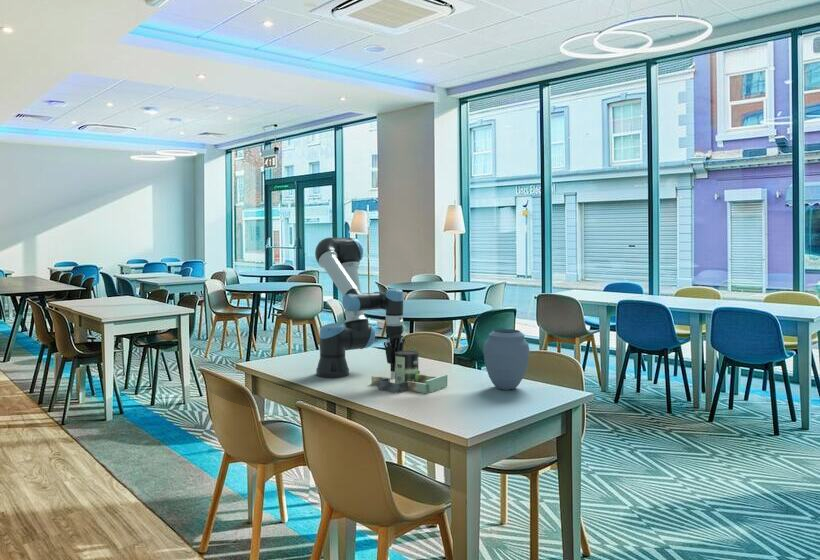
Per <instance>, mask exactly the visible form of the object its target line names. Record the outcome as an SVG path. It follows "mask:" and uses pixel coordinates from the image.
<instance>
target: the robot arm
mask: <svg viewBox="0 0 820 560" xmlns="http://www.w3.org/2000/svg"><path fill="white" fill-rule="evenodd" d="M363 255H364V248H363V245H362V243H361V241H360V240H359V239H357V238H355V237H326V238H323V239H321V240H320V241H319V242H318V244H317V246H316V247H315V252H314V257H315V260H316V262H317V263H318V265H319V267H320V268H321V269H324V271H326V273H327V275H328V276H329V278H330V279H331V281H332V282H333V284H334V285H335V287H336V288H337V289H338V291H339V292H340V294H341V295H342V297H343V298H342V306H343V309H344V310H345V311H344V312H345V318H346V319H345V320H344V322H332V323H327V324H325V325H322V326H321V327H320V330H319V360H318V363H317V367H316V373H315V374H316V376H317V377H321V378H342V377H346V376H349V375H350V367H349V365H348V363H347V362H348V361H347V359H346V351H352V350H363V349H368V348H370V347H371V346H372V345H373V344H374V341H375V338H376V330H375V327H374V325H373V324H372V323H370V322H369V318H368V317H366V316H365V311H373V310H374V311H376V310H385V324H386V325H385V334H387V337H386V338H387V339H386V341H384V342H383V346H384V349H385V350H384V351H385V356H386V357H385V358H386V362H387V364H388V365H390V380H391V379H392V380H395V352H397V351H404V345H405V342H406V340H405V338H402V335H403V333H404V325H403V324H404V293H403V292H404V291H403V290H402V289H401V288H400V289H399V288H390V289H386V290H385V292H383V291H374V292H364V293H362V291H361V283H360V277H359V269H358V267H359V265H360V264H361V262H360V261H362V260H363V257H364V256H363Z"/></svg>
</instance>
